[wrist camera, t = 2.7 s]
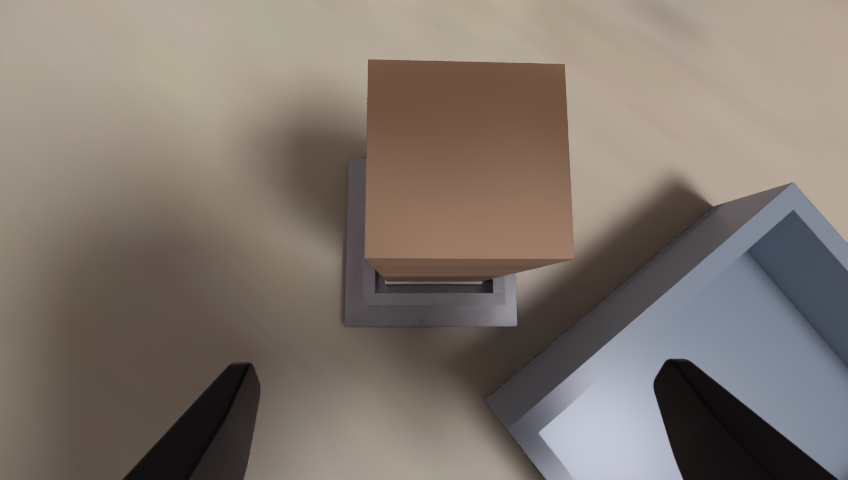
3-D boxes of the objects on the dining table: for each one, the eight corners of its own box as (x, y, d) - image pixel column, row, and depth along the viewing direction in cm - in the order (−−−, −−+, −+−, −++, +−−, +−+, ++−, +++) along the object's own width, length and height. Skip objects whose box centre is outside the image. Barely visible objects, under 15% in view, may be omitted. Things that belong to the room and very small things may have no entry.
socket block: (513, 325, 20) (529, 329, 18) (346, 326, 20) (337, 329, 17) (509, 164, 22) (523, 146, 19) (350, 162, 21) (342, 143, 19)
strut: (476, 285, 20) (579, 264, 8) (386, 285, 20) (358, 263, 8) (474, 198, 21) (568, 59, 9) (387, 197, 20) (363, 54, 9)
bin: (702, 682, 19) (795, 803, 14) (484, 400, 20) (507, 429, 15) (925, 451, 20) (1070, 494, 16) (713, 206, 22) (793, 182, 17)
